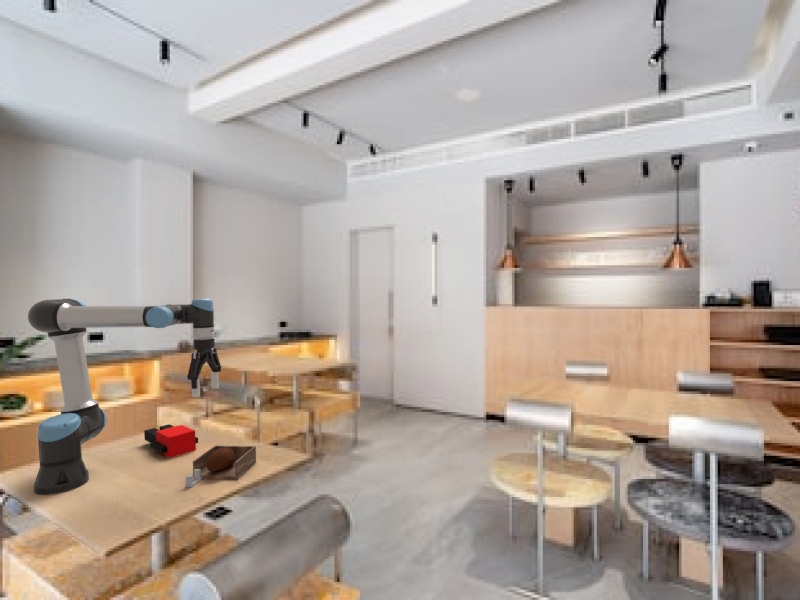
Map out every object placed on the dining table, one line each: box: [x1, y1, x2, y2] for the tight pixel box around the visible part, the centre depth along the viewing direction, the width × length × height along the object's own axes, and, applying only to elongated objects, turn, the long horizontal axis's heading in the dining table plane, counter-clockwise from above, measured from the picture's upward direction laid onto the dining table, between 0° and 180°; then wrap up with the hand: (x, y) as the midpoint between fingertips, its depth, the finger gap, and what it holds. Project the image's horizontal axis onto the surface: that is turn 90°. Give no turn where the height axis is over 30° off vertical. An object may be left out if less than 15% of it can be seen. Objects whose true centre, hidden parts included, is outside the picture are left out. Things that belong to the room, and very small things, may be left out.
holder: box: [192, 445, 257, 481], centre depth 162 cm, size 16×15×6 cm
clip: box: [184, 469, 202, 488], centre depth 151 cm, size 2×6×4 cm, turn 174°
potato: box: [206, 448, 236, 472], centre depth 159 cm, size 8×12×8 cm, turn 156°
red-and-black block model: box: [143, 423, 199, 459], centre depth 186 cm, size 15×8×25 cm
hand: (205, 392), depth 171 cm, fingers open, 13 cm apart
